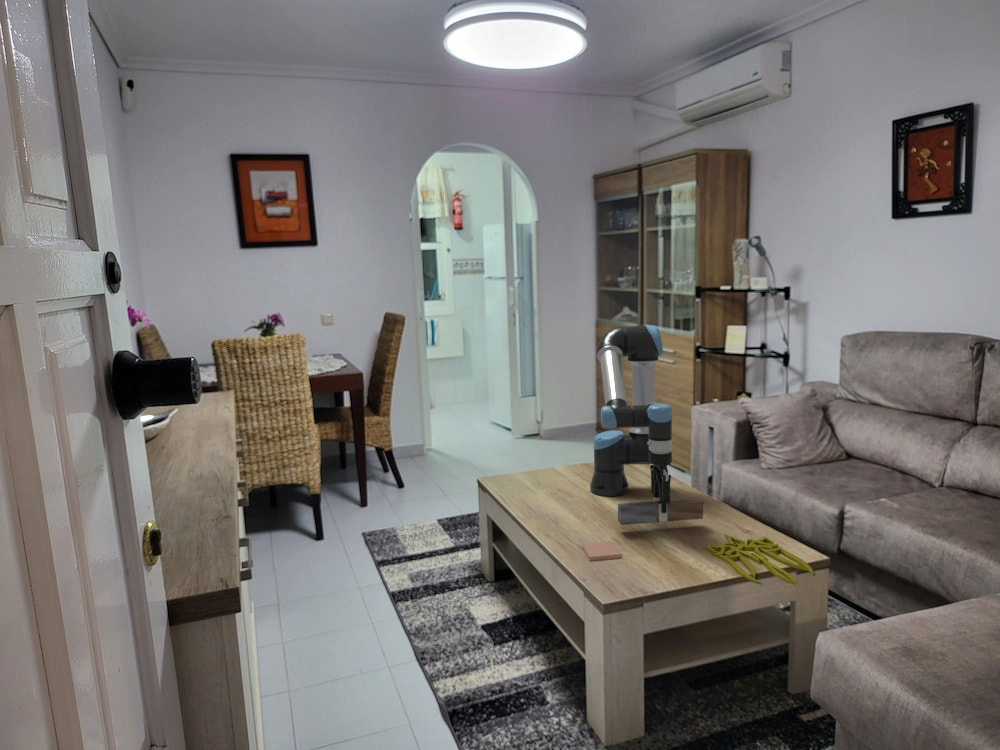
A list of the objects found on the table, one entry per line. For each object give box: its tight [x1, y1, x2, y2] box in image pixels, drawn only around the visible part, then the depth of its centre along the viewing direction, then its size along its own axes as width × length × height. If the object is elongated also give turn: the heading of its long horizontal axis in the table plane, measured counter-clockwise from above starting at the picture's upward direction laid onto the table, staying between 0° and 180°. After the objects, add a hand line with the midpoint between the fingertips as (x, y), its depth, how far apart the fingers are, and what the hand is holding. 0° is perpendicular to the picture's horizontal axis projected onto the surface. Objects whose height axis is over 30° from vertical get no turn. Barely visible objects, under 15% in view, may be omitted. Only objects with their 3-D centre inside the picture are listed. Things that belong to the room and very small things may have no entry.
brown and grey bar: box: [617, 497, 704, 526], centre depth 226 cm, size 4×28×6 cm, turn 96°
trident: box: [705, 533, 815, 586], centre depth 201 cm, size 22×2×35 cm
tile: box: [581, 540, 623, 562], centre depth 211 cm, size 10×2×10 cm
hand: (660, 518), depth 226 cm, fingers closed on brown and grey bar, 4 cm apart
